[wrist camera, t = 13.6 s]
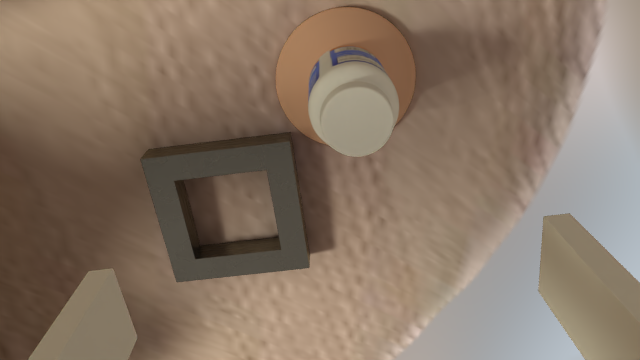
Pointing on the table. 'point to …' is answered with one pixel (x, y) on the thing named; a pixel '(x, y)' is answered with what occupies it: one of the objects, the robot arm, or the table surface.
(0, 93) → the table surface
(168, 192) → the socket plate
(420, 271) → the table surface
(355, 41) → the coaster
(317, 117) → the pill bottle
